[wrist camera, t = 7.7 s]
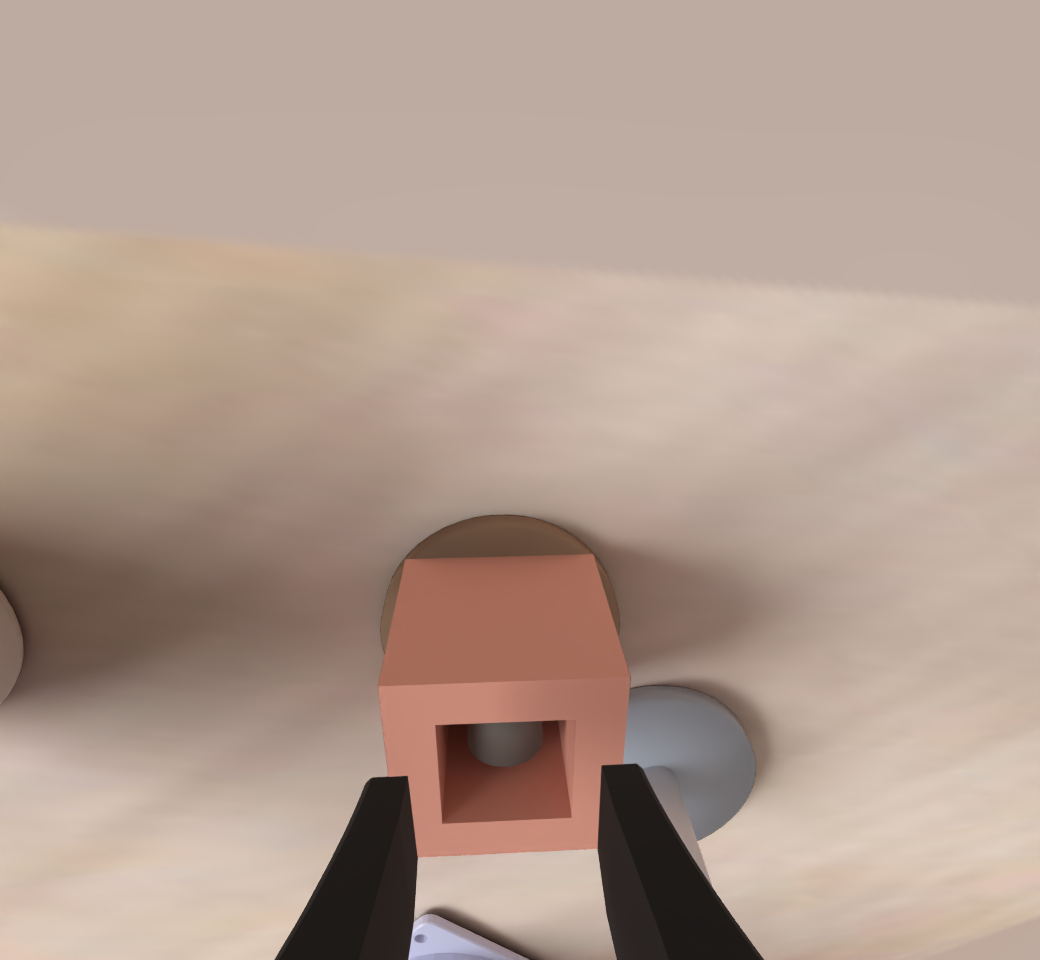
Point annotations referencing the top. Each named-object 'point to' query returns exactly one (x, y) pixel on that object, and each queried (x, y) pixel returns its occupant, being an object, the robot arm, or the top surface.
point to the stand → (690, 758)
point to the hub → (498, 540)
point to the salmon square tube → (503, 700)
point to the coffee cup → (9, 648)
